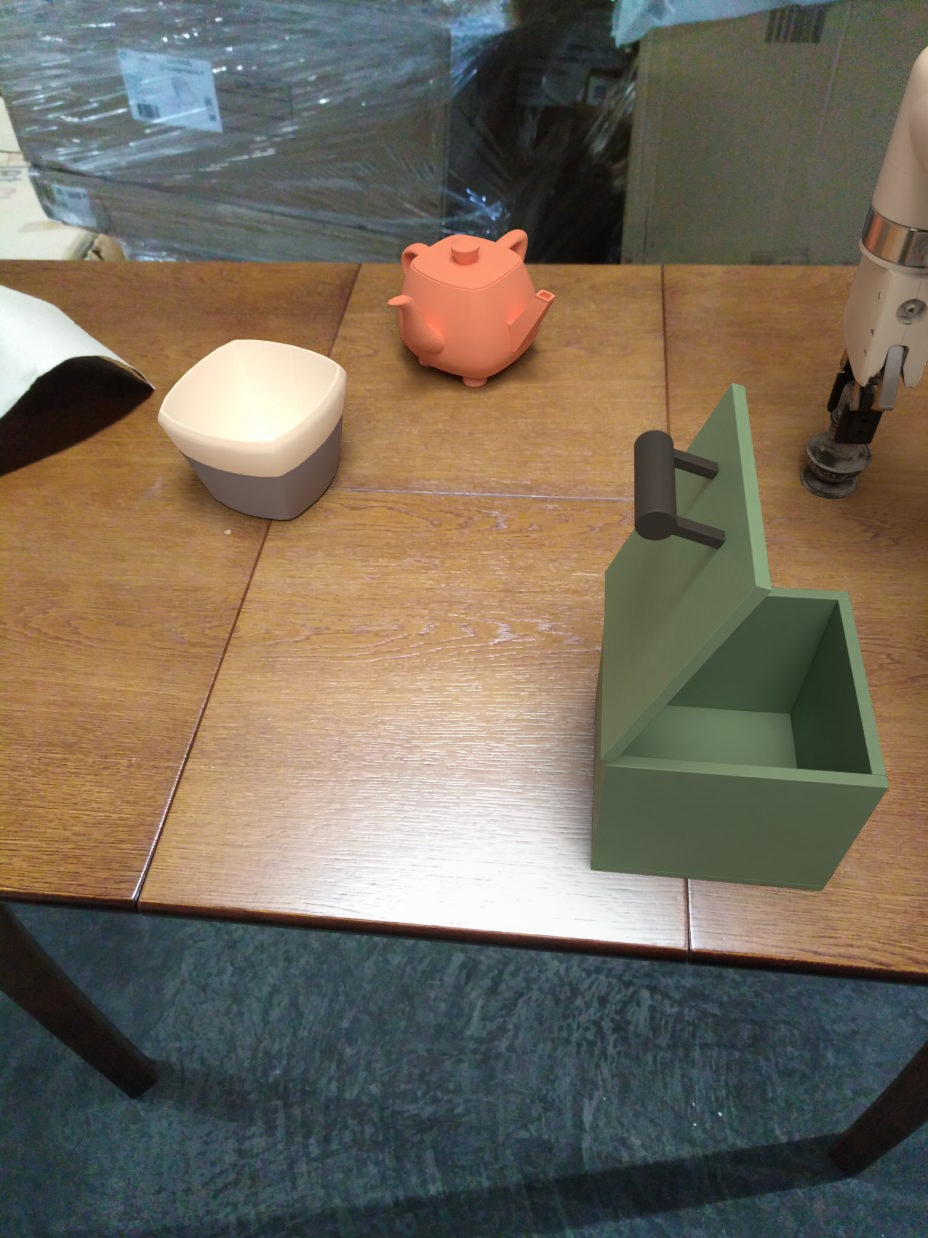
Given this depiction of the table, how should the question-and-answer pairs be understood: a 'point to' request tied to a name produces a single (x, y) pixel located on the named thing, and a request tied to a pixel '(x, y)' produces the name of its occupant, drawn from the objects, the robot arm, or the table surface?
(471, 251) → the teapot
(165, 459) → the table surface
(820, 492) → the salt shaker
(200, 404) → the bowl
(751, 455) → the lid
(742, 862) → the chest
